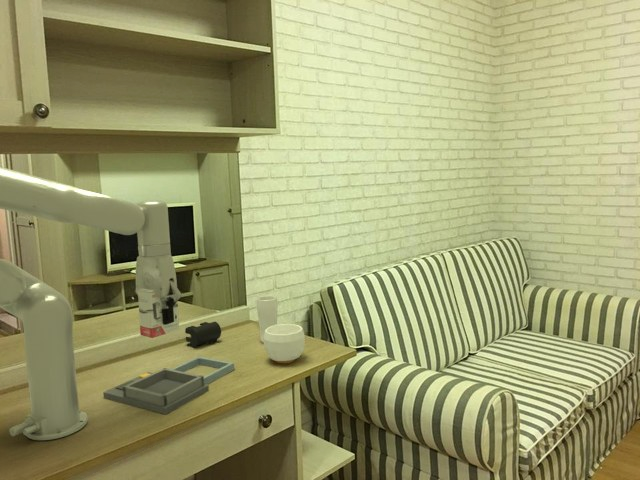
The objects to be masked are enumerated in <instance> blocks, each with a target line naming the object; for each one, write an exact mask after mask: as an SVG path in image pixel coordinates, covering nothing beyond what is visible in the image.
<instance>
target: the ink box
mask: <svg viewBox="0 0 640 480" xmlns="http://www.w3.org/2000/svg"><path fill="white" fill-rule="evenodd" d="M168 295H169V294H168ZM137 298H138V313H139V314H138V316H139V330H140V334H139V335H140V336H141V337H142V336H143V337H146V338H151V339H153V338H157V337H160V336H163V335H167V334H170V333H174V332H176V331H179V330H180V321H179V320H180V318H179V305H178V304H179V301H177V302H176V304H175V306H174V307H173V311H174V322H172V323H170V324H167V325H164V324H163V317H162V309H164V307H163V303H162V300H161V298H156V297H155V291H154V290H150V289H144V288H141V289H140V290H138V295H137ZM166 299H167V302H168V301H169V299H168V298H166Z"/></svg>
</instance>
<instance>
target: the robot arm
mask: <svg viewBox="0 0 640 480" xmlns="http://www.w3.org/2000/svg"><path fill="white" fill-rule="evenodd" d="M0 210H4V211H9V212H12V213H13V212H14V213H19V214H23V215H25V216H27V215H28V216H32V217H35V218H40V219H44V220H49V221H54V222H56V223H57V222H59V223H64V224H75V225H80V226H85V227H90V228H95V229H100V230H103V231H108V232H112V233H115V234H118V235H119V234H120V235H122V236H123V235H124V236H131V235H135V234H137V235H136V236H137V245H138V246H137V250H138V256H137V257H136V262H135V263H136V264H135V290H134V293H135V294H136V295H137V296H138V290H140V289H141V288H144V289H150V290H154V291H155V297H156V298H161V300H162V303H163V307H164V309H162V317H163V324H164V325H167V324H170V323H172V322H174V311H173V307H174V306H175V304H176V302H177V301H178V300H179V299H181V297H182V292H181V291H180V290H179V288H178V283H177V281H178V280H177V274H176V267H175V262H174V259H173V256H172V252H171V237H170V222H169V210H168V204H167V202H165V201H163V200H145V201H143V200H142V201H138V202H132V201H128V200H125V199H124V200H123V199H120V198H117V197H113V196H109V195H105V194H101V193H97V192H93V191H90V190H86V189H82V188H79V187H77V186H74V185H70V184H67V183H63V182H59V181H55V180H51V179H47V178H44V177H40V176H36V175H33V174H29V173H26V172H25V173H24V172H22V171H18V170H14V169H10V168H6V167H3V166H0ZM168 294H169V295H168ZM166 298H168V299H169V301H168V302H167V299H166ZM178 302H179V301H178ZM0 309H2V310H4V311H5V312H7V313H9V314H11V315H13V316H14V317H15V318H16V317H17V318H18V319H20V320H21V322H22V327H23V337H24V338H23V339H24V340H23V341H24V343H23V344H24V353H25V366H26V372H27V382H28V383H27V384H28V391H29V400H30V402H29V403H30V411H31V412H30V413H28V414H26V419H25V420H23V421H22V423H19V424H16V425H14V426H12V427H10V428H9V434H10V436H11V437H16V436H17V435H20V434H22V433H23V435H24V436H26V437H27V438H28V439H29V440H30V439H31V440H33V441H50V440H56V439H60V438H64V437H67V436H70V435H72V434H74V433H76V432H78V431H79V430H82V428H84V427H85V426H86V425H87V423H88V421H89V419H88V414H87V413H86V412H84V411H83V410H82V411H81V410H80V405H79V403H80V402H79V394H78V393H79V392H78V382H77V381H78V380H77V372H76V370H77V369H76V360H75V351H74V336H73V333H74V331H73V330H74V328H73V327H74V315H73V310H72V306H71V304H70V302H69V300H68V299H67V298H66V296H65V295H63V294H62V293H60V292H59V291H58V290H56V289H54V287H52V286H50V285H48V284H47V283H45V282H44V281H42V280H40V278H38V277H36V276H34V275H32V274H31V273H29V272H27V271H26V270H24V269H23V268H21V267H19V266H18V265H16V264H15V263H13V262H11V261H10V260H7V259H3V258H0Z"/></svg>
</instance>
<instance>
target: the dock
mask: <svg viewBox="0 0 640 480" xmlns="http://www.w3.org/2000/svg"><path fill="white" fill-rule="evenodd" d="M204 376H205V375H200V374H195V373H190V372H186V371H185V372H181V371H177V370H172V368H168V367H167V368H166V367H164V368H162V369H159V370H158V371H155V372H149V371H148V372H146V373H144V374H141V375H139V376H136V377H134V378H133V379H130V380H127V381H126V382H124V383H121V384H118V385H116V386H114V387H112V388H110V389H107V390H105V391H103V393H102V394H103V398H104V399H106V400H107V399H108V400H110V401H114V402H117V403H121V404H126V405H129V406H133V407H137V408H141V409H144V410H147V411H151V412H155V413H159V414H162V415H168V414H170V413H171V412H173V411H175V410H177V409H180V407H182V406H184V405H186V404H187V403H189V402H191V401H193V400H195V399H197V398H199V397H200V396H202V395H204V394H205V393H207V392H209V391H210V390H209V384H207V385H205V384H204Z"/></svg>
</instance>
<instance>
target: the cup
mask: <svg viewBox="0 0 640 480" xmlns="http://www.w3.org/2000/svg"><path fill="white" fill-rule="evenodd" d="M305 341H306V335H305V331H304V329H303V327H302V326H301V325H298V324H293V323H282V324H280V323H279V324H277V325H274V326H270V327H268V328H267V329H266V330H265V333H264V343H263V345H264V350H265V351H266V355H267V356H268V357H269V358H270V360H272V361H275V362H276V363H278V364H290V363H292V362H295V360H297V359H298V358H300V356H301V355H302V354H303V351H304V349H305V345H306V342H305Z"/></svg>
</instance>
